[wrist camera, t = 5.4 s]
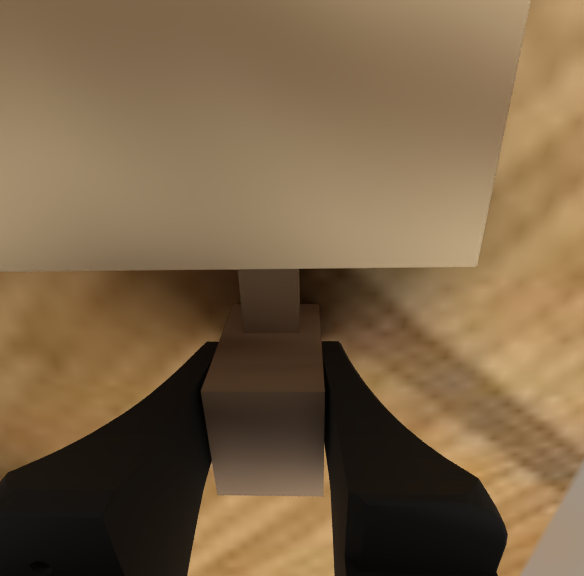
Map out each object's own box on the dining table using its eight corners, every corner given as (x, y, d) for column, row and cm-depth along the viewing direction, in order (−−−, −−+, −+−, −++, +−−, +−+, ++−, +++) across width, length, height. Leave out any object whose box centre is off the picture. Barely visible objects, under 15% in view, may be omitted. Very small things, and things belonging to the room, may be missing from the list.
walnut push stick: (340, 389, 16) (353, 496, 11) (220, 389, 16) (188, 494, 12) (359, -124, 9) (408, -336, 5) (152, -113, 9) (17, -308, 5)
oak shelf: (408, 201, 12) (476, 267, 7) (51, 207, 13) (-109, 273, 8) (442, -111, 9) (604, -365, 4) (-39, -86, 10) (-405, -287, 5)
